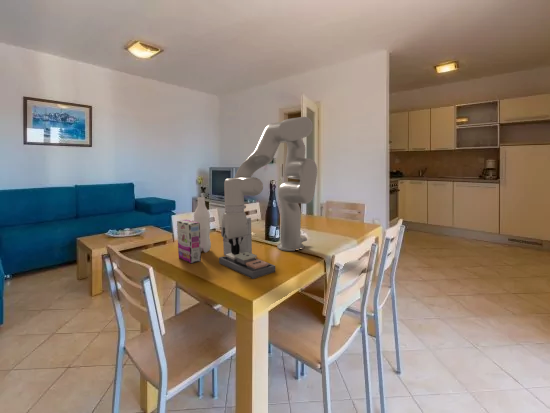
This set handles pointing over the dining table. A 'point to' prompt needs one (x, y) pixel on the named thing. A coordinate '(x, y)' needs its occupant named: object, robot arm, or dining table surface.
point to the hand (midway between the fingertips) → (235, 253)
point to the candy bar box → (189, 241)
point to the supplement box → (245, 243)
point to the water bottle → (203, 224)
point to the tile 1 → (232, 257)
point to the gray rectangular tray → (243, 268)
